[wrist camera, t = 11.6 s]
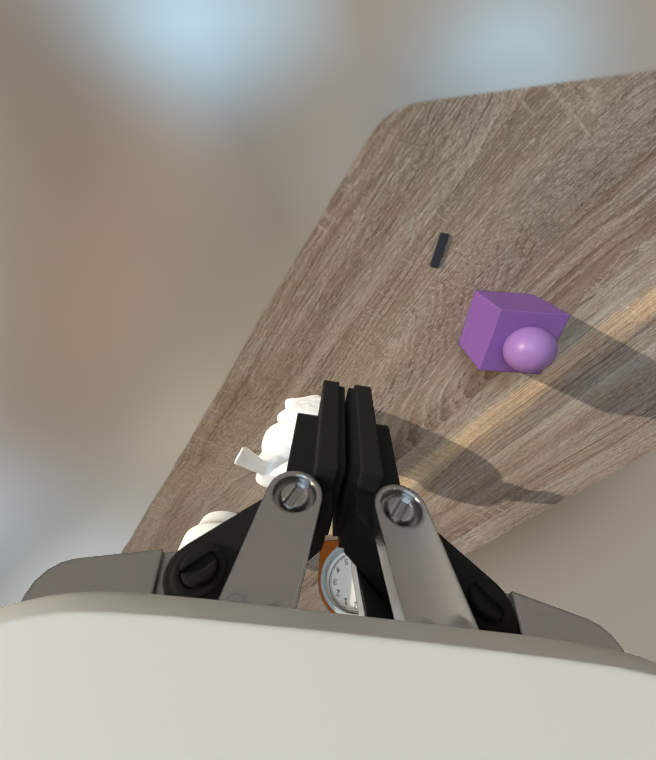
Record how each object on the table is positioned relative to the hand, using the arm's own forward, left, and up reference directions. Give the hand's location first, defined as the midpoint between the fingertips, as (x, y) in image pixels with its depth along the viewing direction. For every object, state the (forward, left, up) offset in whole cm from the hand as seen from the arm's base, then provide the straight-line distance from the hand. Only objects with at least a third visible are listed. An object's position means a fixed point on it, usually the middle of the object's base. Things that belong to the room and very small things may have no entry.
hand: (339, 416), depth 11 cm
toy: (+2, +17, -23) cm, 29 cm away
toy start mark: (-4, +9, -23) cm, 25 cm away
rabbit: (+19, -2, -23) cm, 30 cm away
